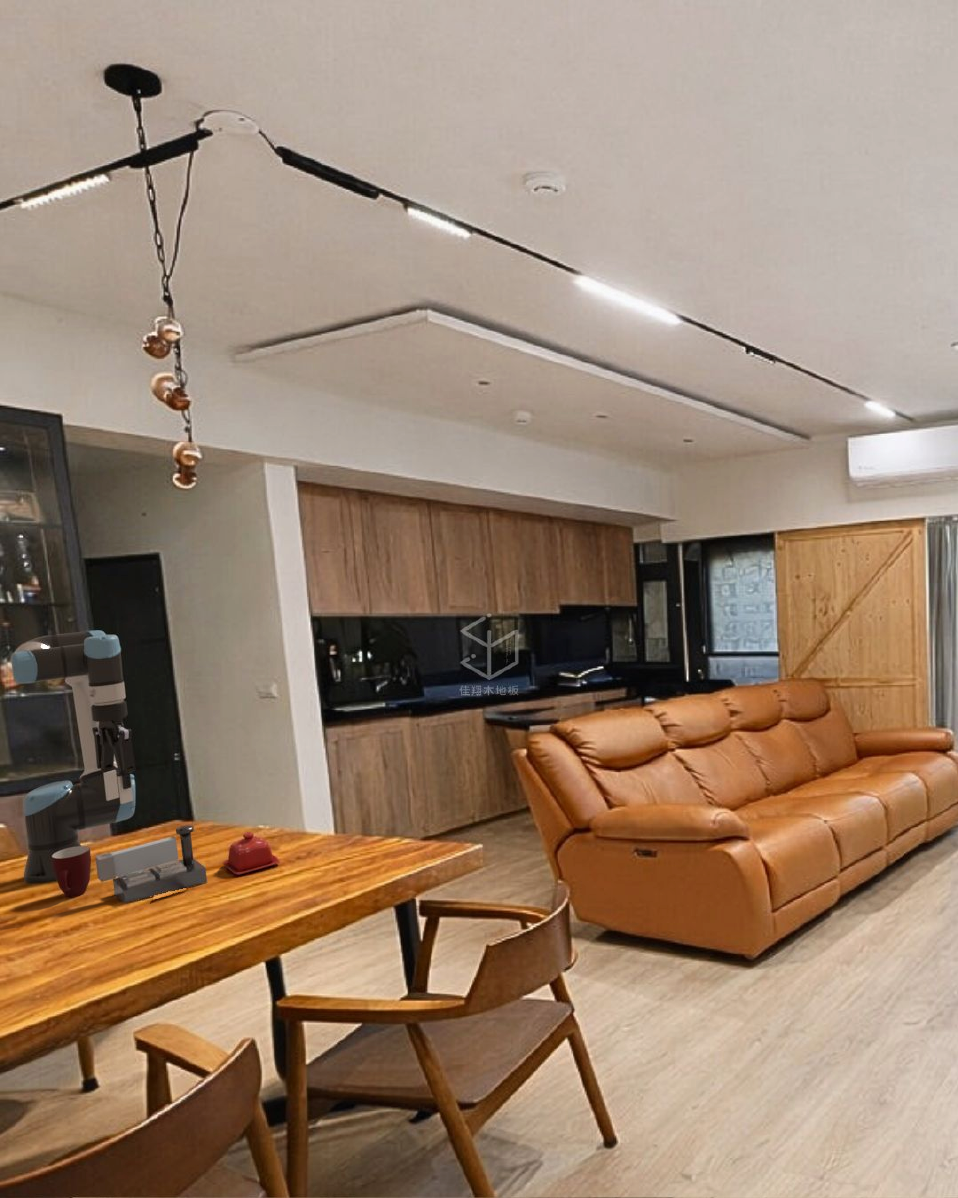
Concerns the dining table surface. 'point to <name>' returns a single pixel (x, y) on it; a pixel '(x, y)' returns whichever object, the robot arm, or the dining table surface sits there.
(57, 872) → the mug
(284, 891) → the dining table surface
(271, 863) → the butter dish
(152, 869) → the grey stepped machine part
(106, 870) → the light grey bar
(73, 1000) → the dining table surface
